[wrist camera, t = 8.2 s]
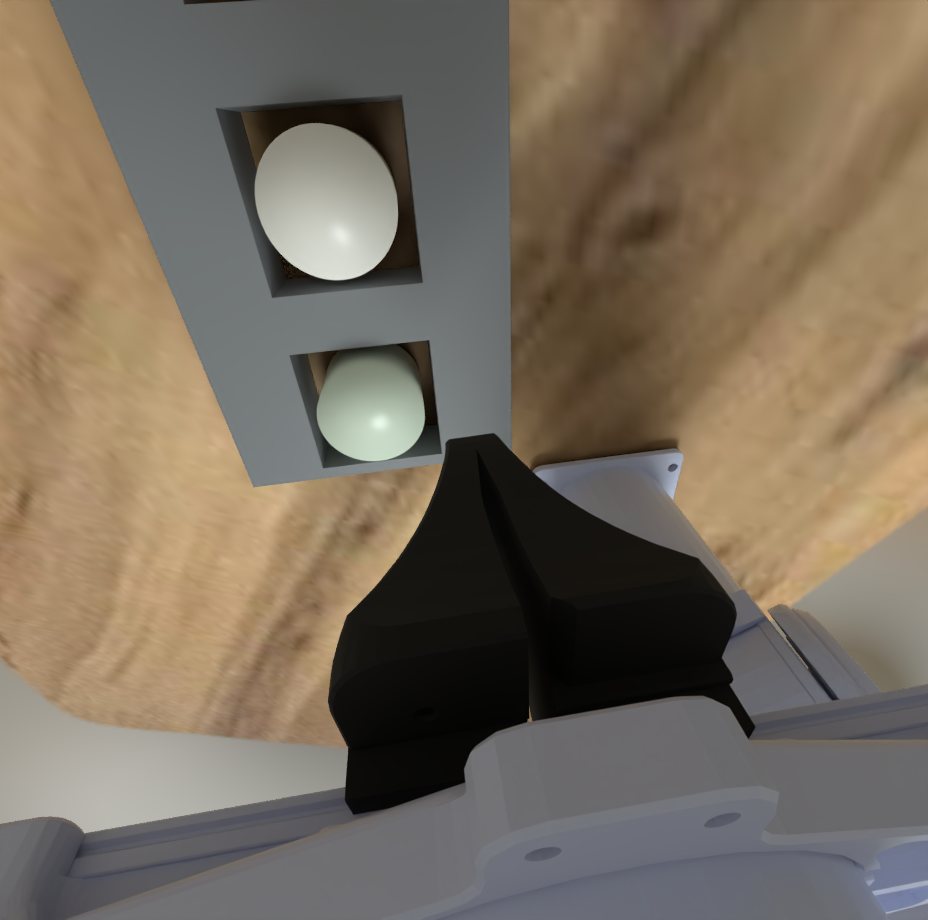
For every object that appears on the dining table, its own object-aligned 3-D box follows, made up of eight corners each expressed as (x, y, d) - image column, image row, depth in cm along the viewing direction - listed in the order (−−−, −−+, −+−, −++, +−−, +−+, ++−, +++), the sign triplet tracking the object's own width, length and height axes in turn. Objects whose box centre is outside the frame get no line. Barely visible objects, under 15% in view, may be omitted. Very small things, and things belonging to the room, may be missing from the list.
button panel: (500, 425, 22) (511, 454, 20) (266, 453, 21) (253, 487, 19) (484, -323, 11) (506, -432, 9) (-24, -315, 10) (-132, -434, 8)
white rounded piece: (404, 254, 17) (406, 273, 15) (295, 264, 17) (278, 286, 14) (387, 121, 15) (386, 117, 12) (260, 130, 15) (233, 129, 12)
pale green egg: (425, 418, 21) (430, 454, 19) (337, 428, 21) (330, 467, 18) (414, 333, 19) (418, 362, 16) (315, 343, 19) (304, 374, 16)
